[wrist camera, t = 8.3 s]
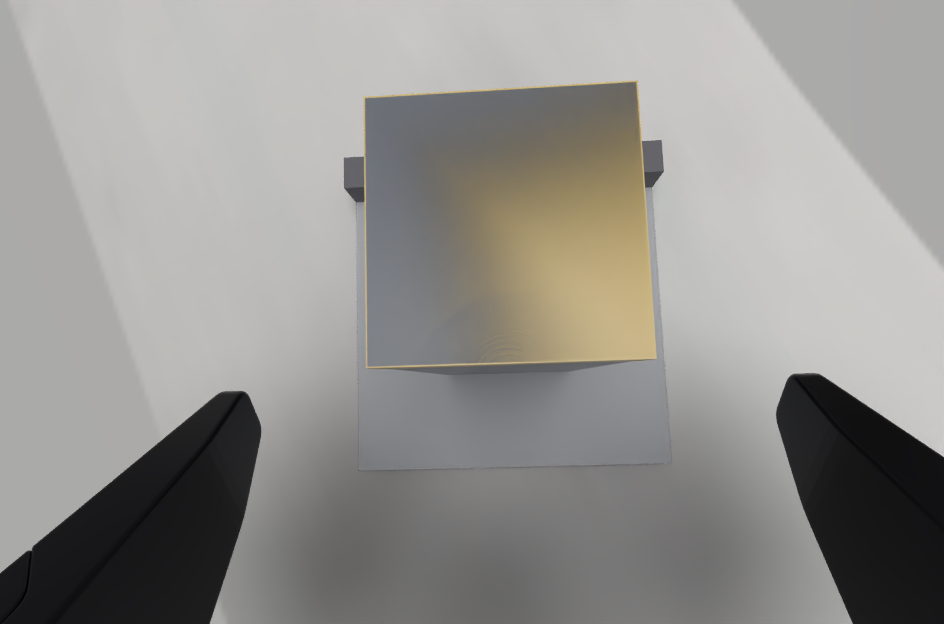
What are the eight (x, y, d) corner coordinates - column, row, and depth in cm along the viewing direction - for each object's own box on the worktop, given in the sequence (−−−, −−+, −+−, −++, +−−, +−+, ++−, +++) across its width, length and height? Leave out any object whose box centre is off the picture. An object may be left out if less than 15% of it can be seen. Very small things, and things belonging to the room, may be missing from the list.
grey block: (571, 371, 19) (657, 358, 8) (447, 375, 19) (365, 368, 8) (565, 249, 19) (637, 80, 8) (444, 254, 20) (363, 97, 9)
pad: (663, 459, 19) (685, 470, 17) (366, 466, 20) (346, 478, 17) (643, 169, 21) (661, 140, 18) (363, 184, 21) (343, 158, 19)
